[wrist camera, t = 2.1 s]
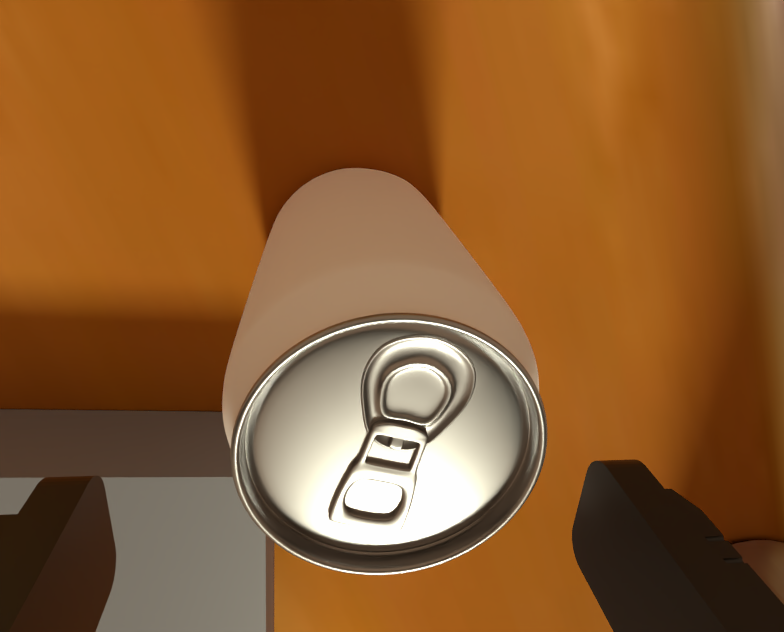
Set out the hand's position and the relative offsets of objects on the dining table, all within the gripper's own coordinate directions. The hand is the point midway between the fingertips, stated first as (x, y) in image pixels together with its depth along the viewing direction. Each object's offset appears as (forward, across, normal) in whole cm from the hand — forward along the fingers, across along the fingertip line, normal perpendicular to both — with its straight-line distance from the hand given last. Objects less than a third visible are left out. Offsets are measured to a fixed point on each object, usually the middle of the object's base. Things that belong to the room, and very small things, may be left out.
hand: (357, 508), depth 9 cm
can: (+13, -1, 0) cm, 13 cm away
